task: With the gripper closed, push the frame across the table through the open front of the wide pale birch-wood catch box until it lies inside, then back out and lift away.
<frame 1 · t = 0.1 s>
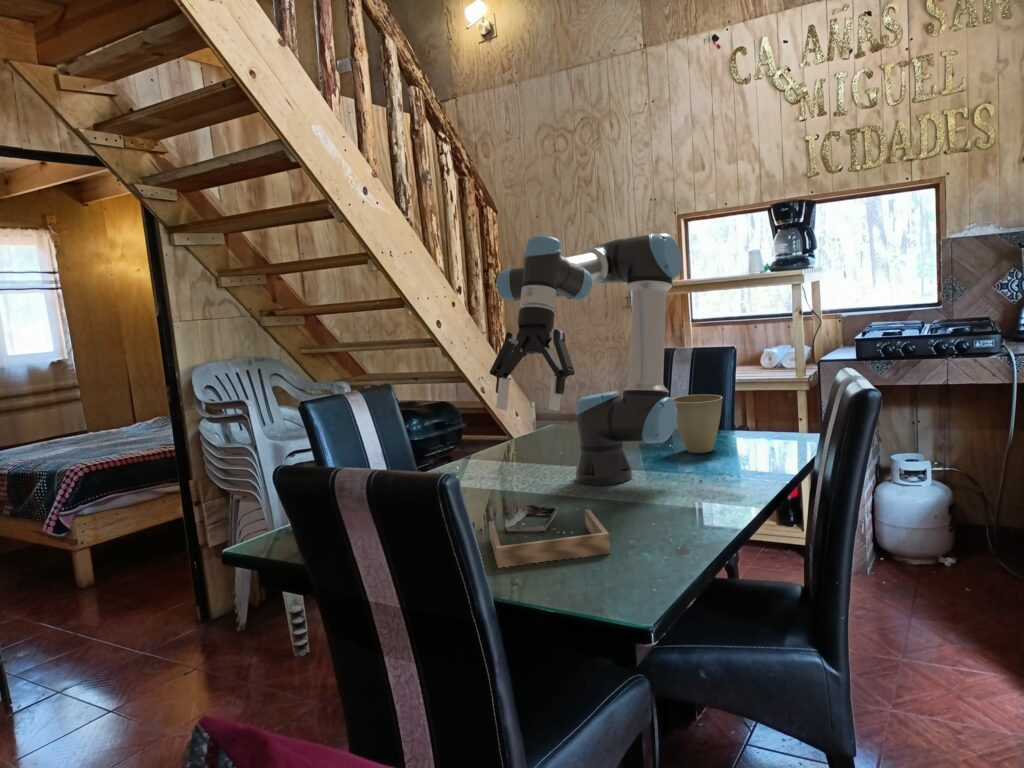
hand: (526, 409, 157), 28 cm above the table, tool tilted 20°, fingers open, 13 cm apart
plant pot: (700, 451, 229), on the table
catch box: (547, 545, 156), on the table
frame: (535, 525, 173), on the table
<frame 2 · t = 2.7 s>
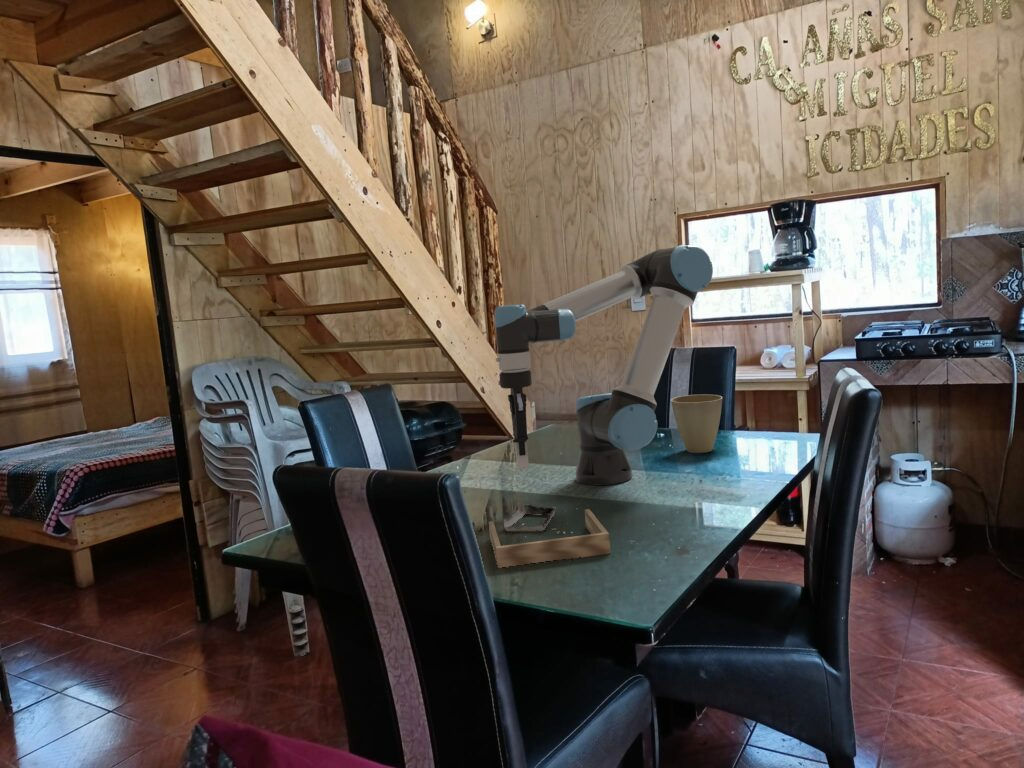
hand: (522, 467, 183), 10 cm above the table, tool pointing down, fingers closed
nothing on the table moved.
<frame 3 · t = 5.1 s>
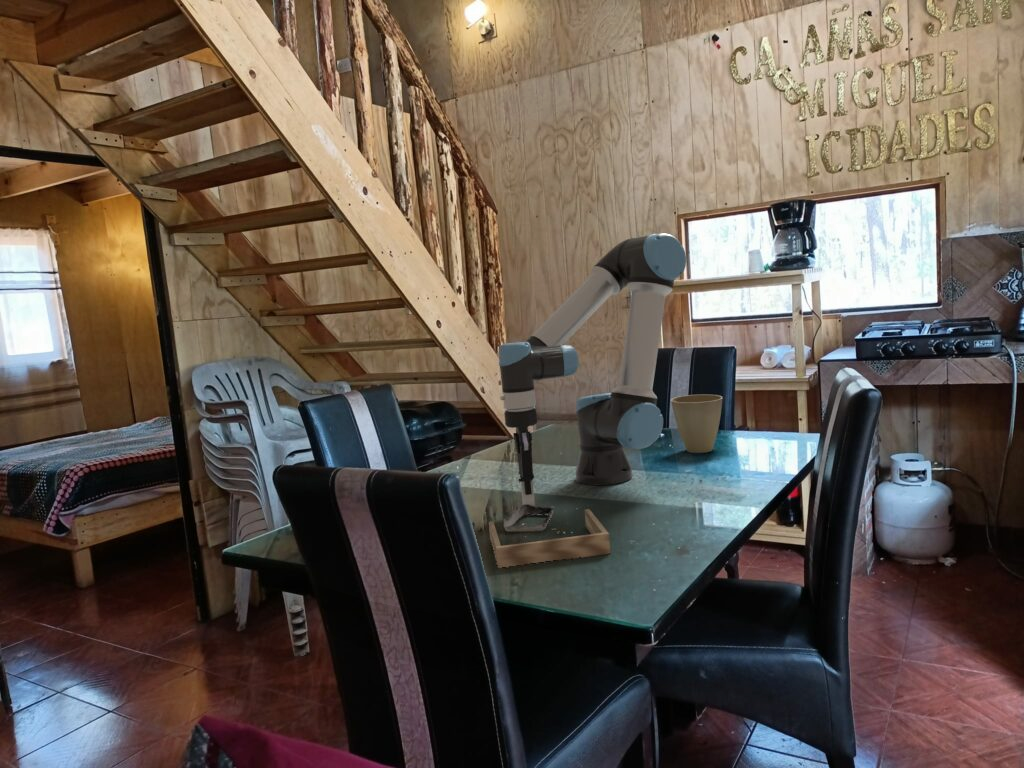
hand: (529, 506, 181), 2 cm above the table, tool pointing down, fingers closed
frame: (533, 525, 173), on the table, touching gripper
everything else where it was.
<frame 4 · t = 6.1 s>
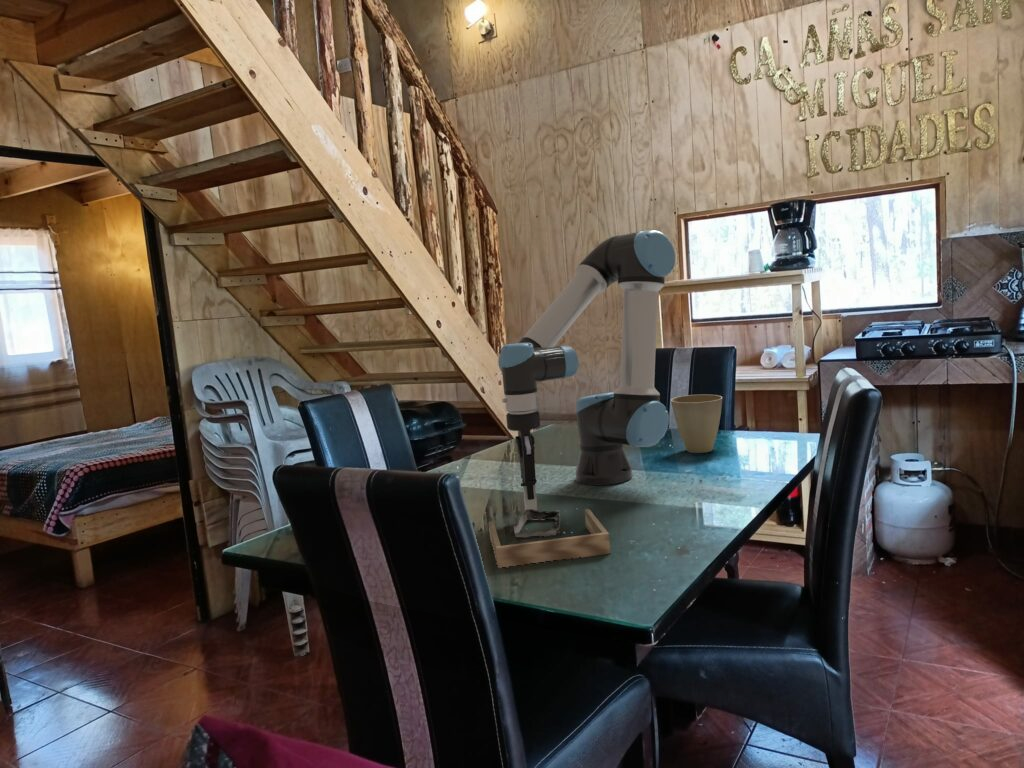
hand: (531, 511, 176), 2 cm above the table, tool pointing down, fingers closed
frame: (540, 530, 168), on the table, touching gripper
everything else where it was.
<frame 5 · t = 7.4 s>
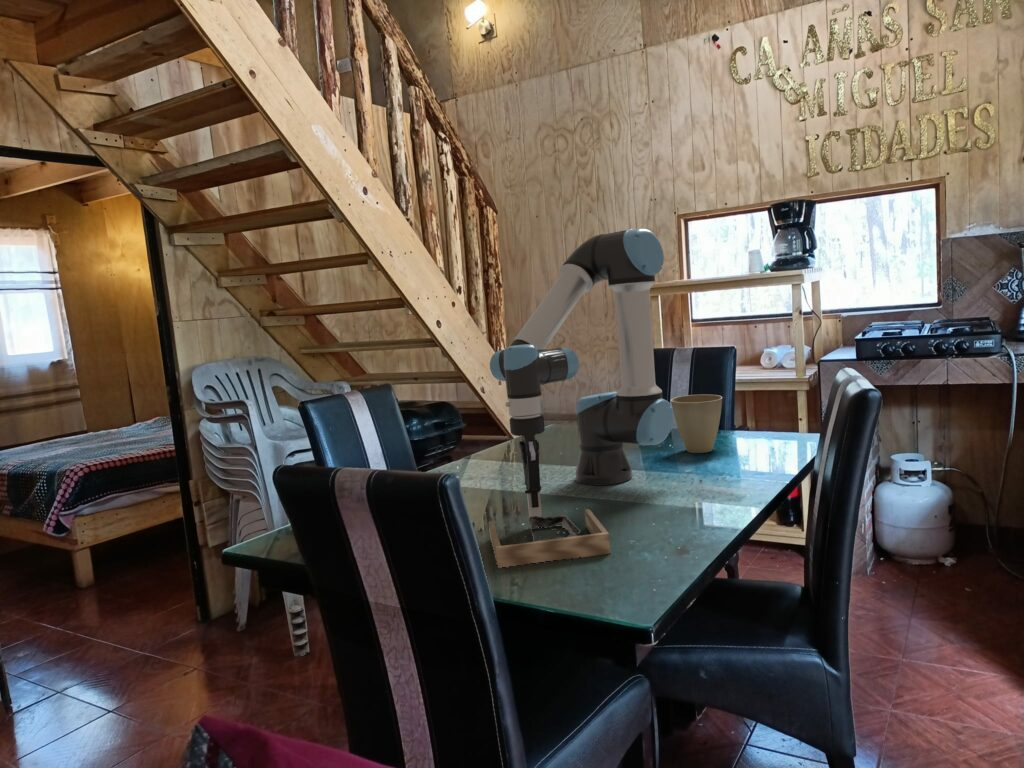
hand: (535, 519, 169), 2 cm above the table, tool pointing down, fingers closed
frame: (553, 536, 163), on the table
everything else where it was.
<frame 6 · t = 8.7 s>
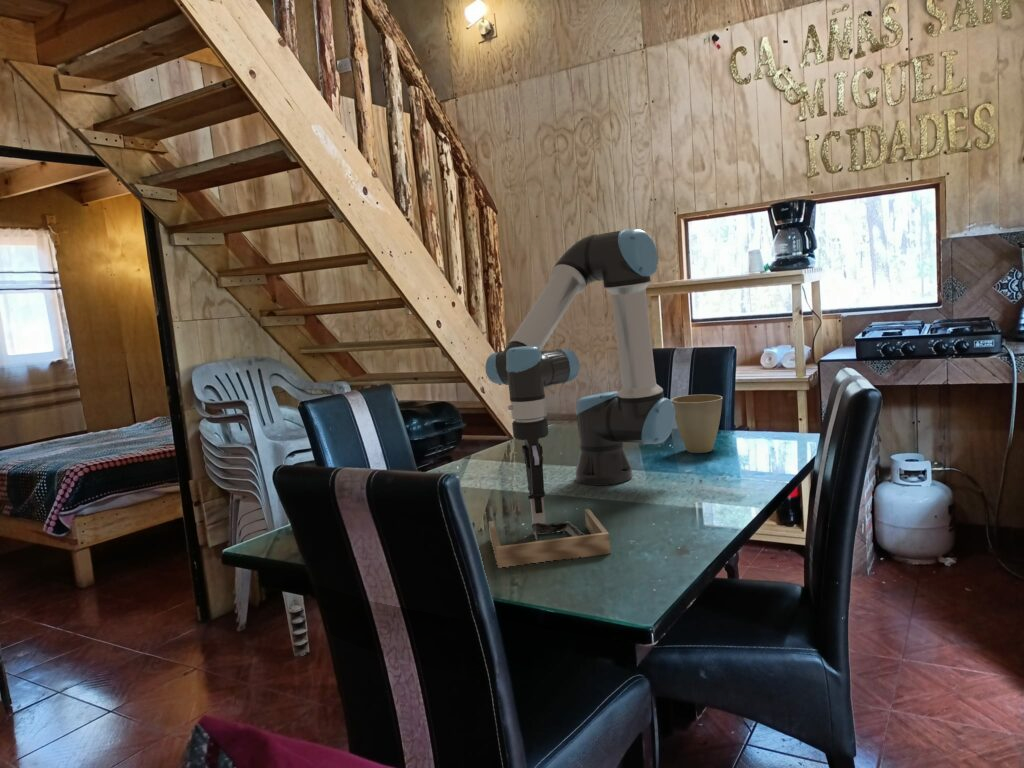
hand: (539, 526, 165), 1 cm above the table, tool pointing down, fingers closed
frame: (558, 543, 159), on the table, touching gripper
everything else where it was.
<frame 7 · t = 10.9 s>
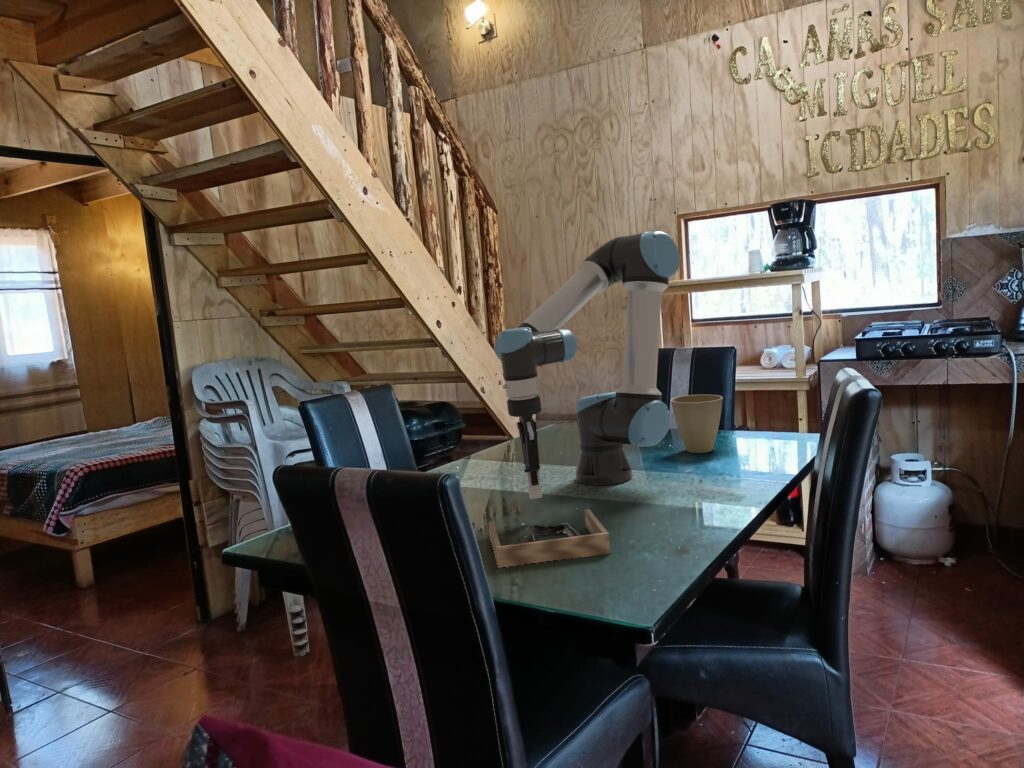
hand: (535, 497, 175), 5 cm above the table, tool pointing down, fingers closed
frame: (555, 545, 158), on the table
everything else where it was.
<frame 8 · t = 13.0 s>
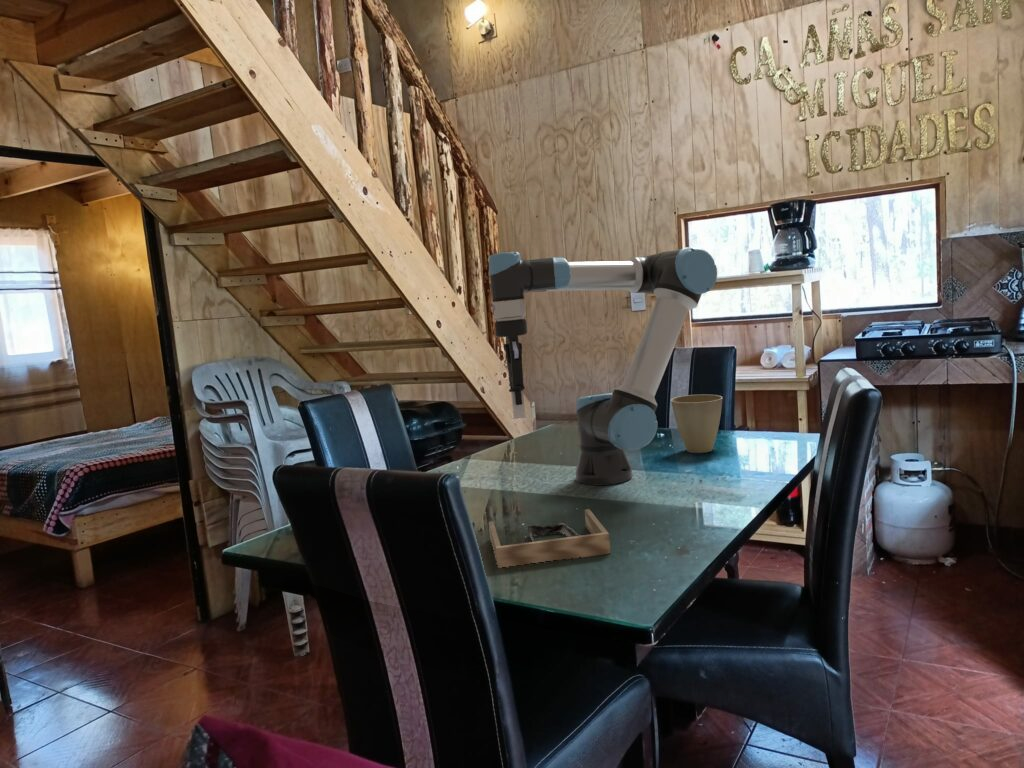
hand: (519, 417, 182), 22 cm above the table, tool pointing down, fingers closed
nothing on the table moved.
at the end: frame inside the target area on the catch box (2.1 cm from its centre), point -0.6 cm above the catch box's base; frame on the table; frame moved 15.2 cm from its start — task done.
